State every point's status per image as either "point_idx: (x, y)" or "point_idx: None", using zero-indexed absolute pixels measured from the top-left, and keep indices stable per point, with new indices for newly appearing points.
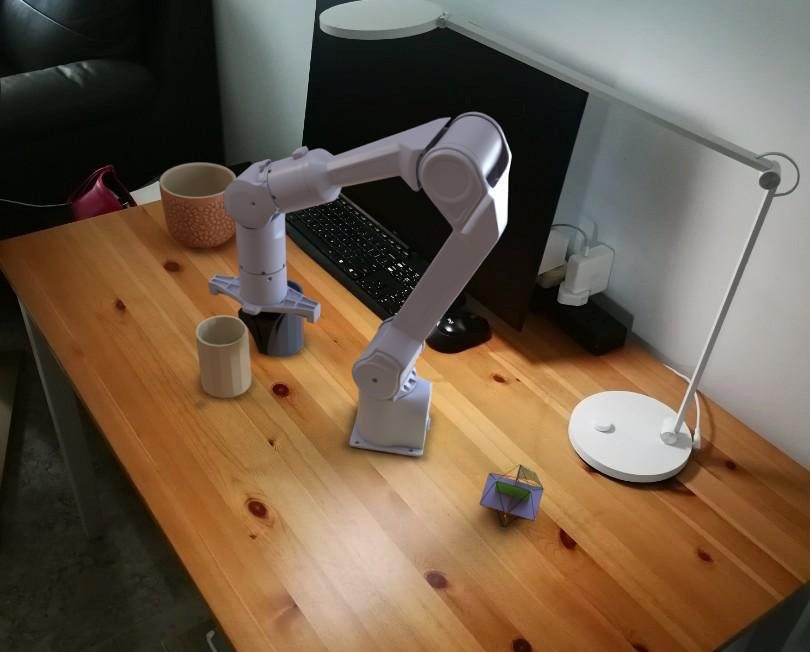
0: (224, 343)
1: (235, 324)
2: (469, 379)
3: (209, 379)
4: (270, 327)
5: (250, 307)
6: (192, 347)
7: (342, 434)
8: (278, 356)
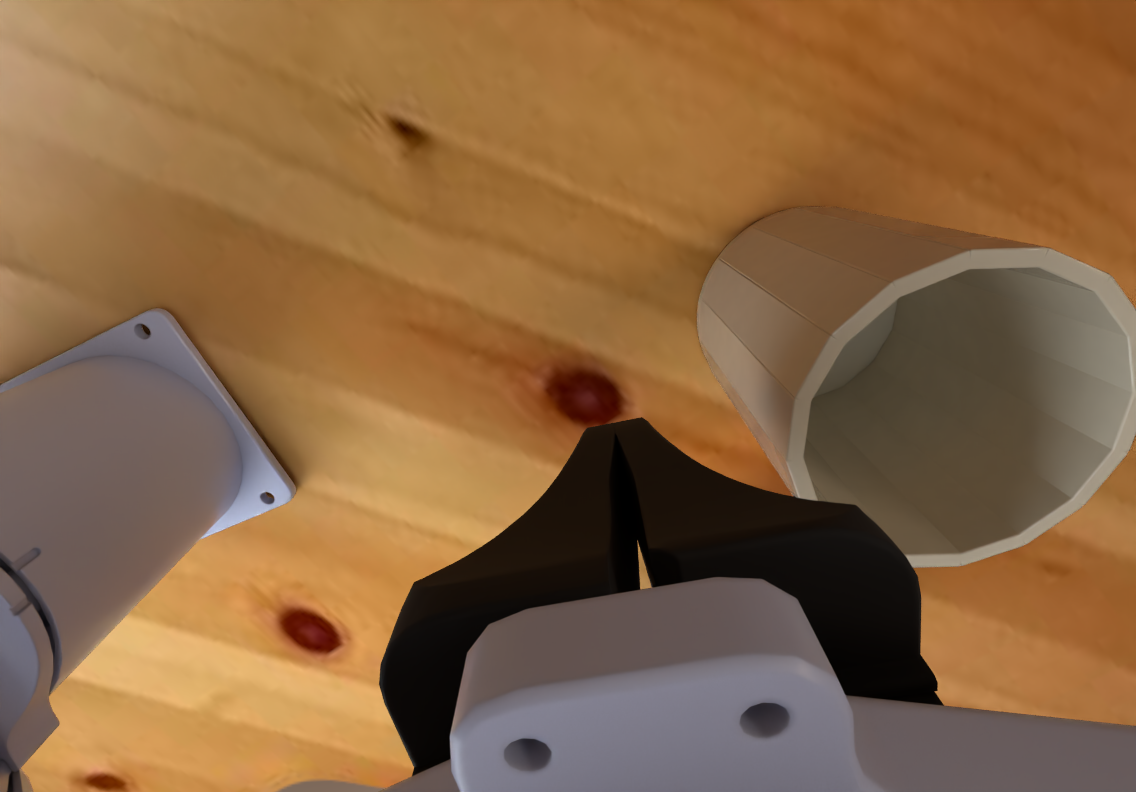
0: (912, 429)
1: (918, 527)
2: (160, 745)
3: (845, 214)
4: (441, 573)
5: (637, 745)
6: None
7: (240, 343)
8: None
